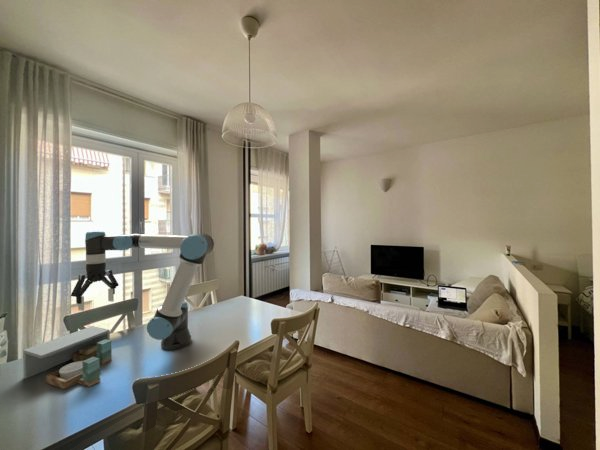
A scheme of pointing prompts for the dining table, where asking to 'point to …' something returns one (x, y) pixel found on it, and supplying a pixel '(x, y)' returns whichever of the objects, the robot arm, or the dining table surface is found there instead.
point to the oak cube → (88, 350)
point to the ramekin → (71, 370)
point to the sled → (87, 376)
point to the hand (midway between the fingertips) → (96, 305)
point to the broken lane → (97, 353)
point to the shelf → (60, 349)
